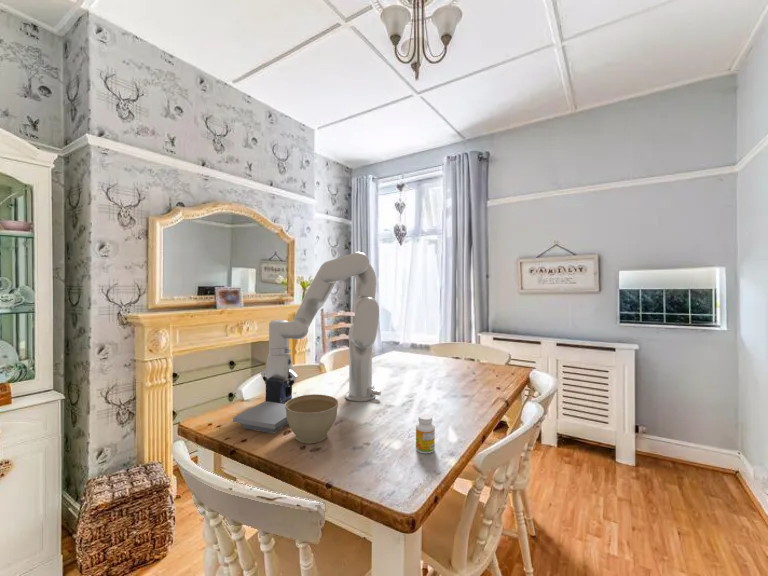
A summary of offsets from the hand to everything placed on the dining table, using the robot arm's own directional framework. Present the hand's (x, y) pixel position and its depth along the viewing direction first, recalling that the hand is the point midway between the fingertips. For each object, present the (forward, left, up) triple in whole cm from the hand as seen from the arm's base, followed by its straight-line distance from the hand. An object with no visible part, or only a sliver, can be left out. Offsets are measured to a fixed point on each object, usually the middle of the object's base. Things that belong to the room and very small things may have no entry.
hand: (279, 394), depth 137 cm
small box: (0, 0, -3) cm, 3 cm away
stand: (-9, +18, -3) cm, 20 cm away
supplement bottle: (-63, +18, -3) cm, 66 cm away
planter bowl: (-28, +22, -3) cm, 36 cm away
